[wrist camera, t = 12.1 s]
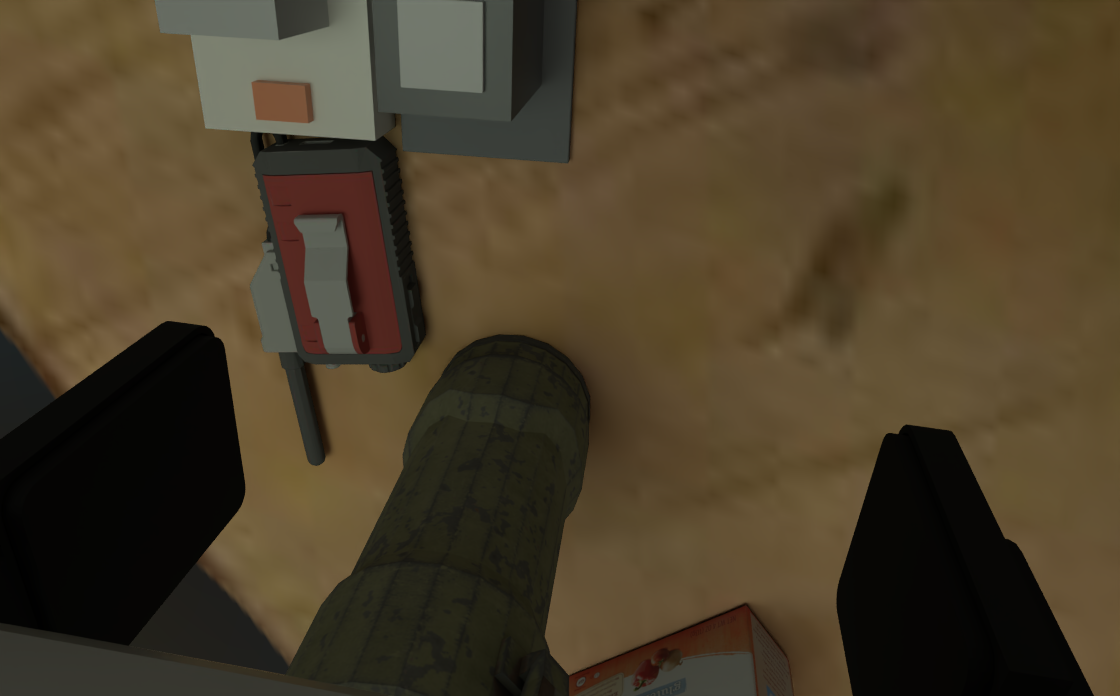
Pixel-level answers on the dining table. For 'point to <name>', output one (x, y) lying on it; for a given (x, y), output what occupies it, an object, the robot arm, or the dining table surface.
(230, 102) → the power strip
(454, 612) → the thermos
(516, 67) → the block
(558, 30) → the mat
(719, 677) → the cracker box
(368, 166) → the walkie-talkie
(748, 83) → the dining table surface
